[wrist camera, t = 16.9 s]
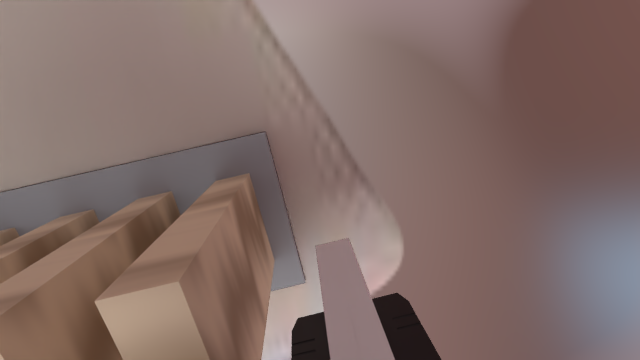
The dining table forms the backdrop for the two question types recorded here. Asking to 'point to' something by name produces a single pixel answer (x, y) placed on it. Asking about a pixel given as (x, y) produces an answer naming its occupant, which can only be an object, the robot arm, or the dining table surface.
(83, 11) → the dining table surface
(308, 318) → the robot arm
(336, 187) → the dining table surface
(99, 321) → the tile
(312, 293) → the dining table surface
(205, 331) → the tile
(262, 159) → the mat
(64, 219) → the tile
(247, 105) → the dining table surface
